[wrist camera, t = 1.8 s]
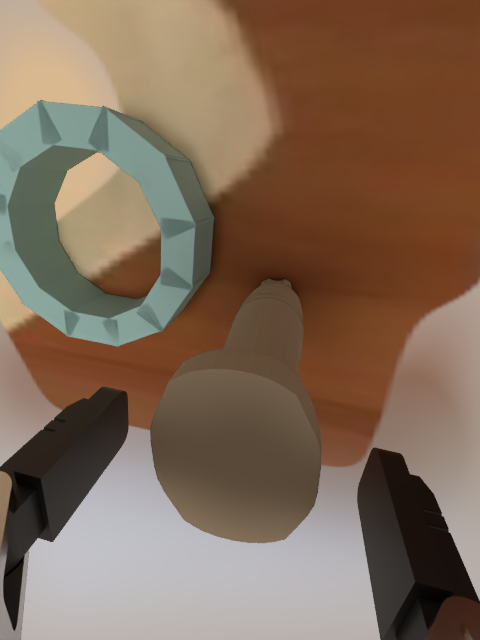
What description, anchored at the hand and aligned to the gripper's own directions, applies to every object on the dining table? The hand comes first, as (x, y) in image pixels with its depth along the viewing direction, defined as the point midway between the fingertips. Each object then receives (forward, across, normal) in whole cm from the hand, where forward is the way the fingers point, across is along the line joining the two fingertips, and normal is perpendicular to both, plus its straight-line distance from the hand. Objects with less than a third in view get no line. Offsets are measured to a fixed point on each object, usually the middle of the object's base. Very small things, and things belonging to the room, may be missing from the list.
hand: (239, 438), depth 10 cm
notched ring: (+14, +12, -3) cm, 18 cm away
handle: (+14, 0, 0) cm, 14 cm away
